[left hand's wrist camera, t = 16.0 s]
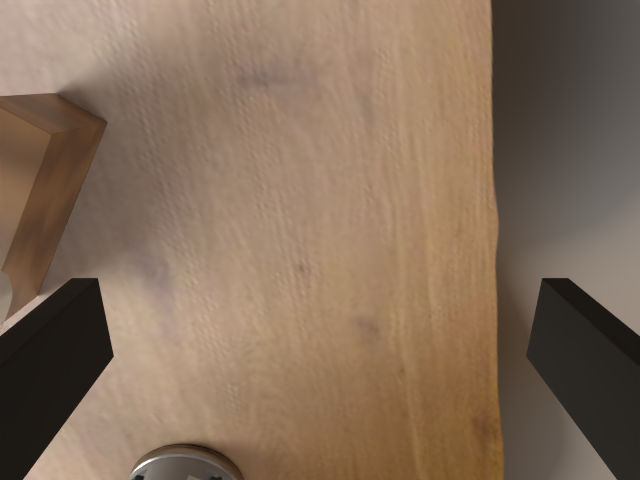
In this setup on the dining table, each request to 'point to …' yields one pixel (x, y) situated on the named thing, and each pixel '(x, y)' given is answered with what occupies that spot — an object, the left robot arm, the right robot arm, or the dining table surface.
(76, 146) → the bar
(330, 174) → the dining table surface
